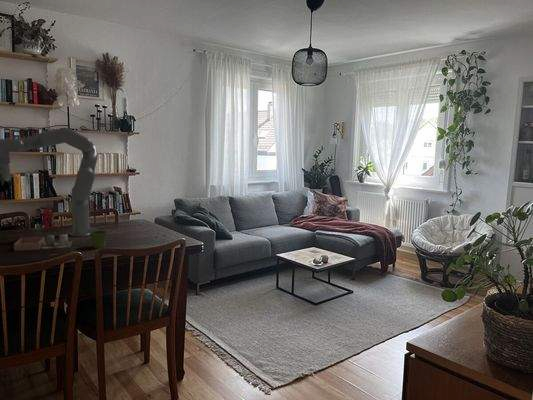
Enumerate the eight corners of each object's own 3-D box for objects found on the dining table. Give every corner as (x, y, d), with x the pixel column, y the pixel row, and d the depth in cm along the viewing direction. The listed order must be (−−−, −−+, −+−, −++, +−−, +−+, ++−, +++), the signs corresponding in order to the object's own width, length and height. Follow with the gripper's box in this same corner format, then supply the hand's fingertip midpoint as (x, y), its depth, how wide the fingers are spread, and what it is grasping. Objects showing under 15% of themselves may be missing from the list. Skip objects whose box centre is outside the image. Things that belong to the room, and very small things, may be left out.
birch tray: (72, 242, 229) (72, 240, 229) (69, 248, 217) (69, 246, 216) (45, 244, 225) (45, 242, 225) (40, 250, 212) (40, 247, 212)
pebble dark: (55, 244, 222) (54, 234, 221) (54, 246, 218) (53, 236, 218) (47, 244, 221) (46, 234, 220) (45, 246, 217) (45, 236, 216)
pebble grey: (68, 244, 224) (68, 234, 224) (67, 245, 221) (67, 235, 220) (60, 244, 223) (60, 234, 222) (59, 246, 219) (59, 236, 219)
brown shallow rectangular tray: (45, 243, 226) (44, 236, 225) (39, 250, 211) (39, 243, 211) (21, 244, 222) (21, 237, 221) (14, 251, 207) (13, 244, 207)
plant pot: (93, 245, 226) (92, 230, 224) (110, 245, 226) (110, 230, 225) (87, 249, 216) (86, 233, 215) (105, 249, 217) (104, 234, 216)
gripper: (4, 161, 220) (6, 192, 222) (13, 160, 237) (15, 189, 239) (-11, 161, 218) (-10, 192, 220) (-1, 160, 234) (0, 189, 236)
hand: (3, 191), depth 229 cm, fingers open, 9 cm apart
